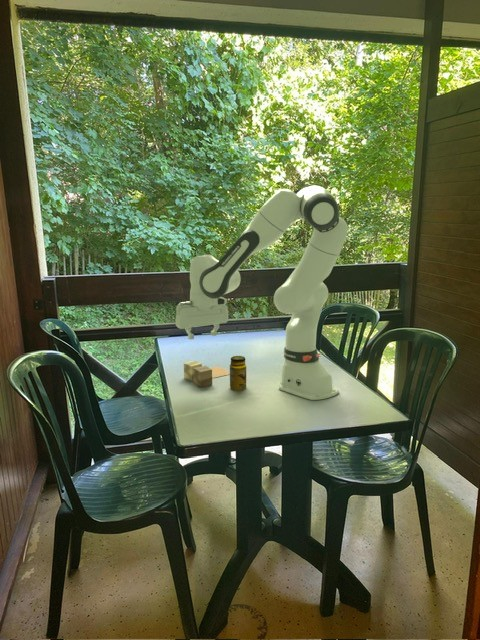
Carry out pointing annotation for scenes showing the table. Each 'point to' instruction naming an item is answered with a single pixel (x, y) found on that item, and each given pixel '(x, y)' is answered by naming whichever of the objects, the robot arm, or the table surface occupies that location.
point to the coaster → (219, 372)
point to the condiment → (237, 373)
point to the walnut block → (203, 376)
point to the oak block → (190, 369)
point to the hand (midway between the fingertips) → (202, 337)
